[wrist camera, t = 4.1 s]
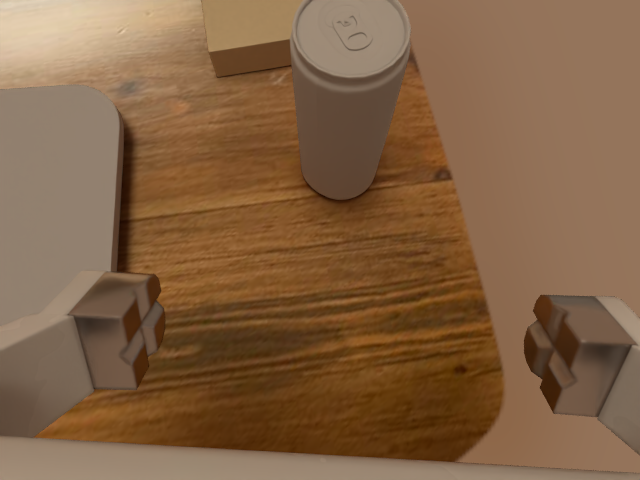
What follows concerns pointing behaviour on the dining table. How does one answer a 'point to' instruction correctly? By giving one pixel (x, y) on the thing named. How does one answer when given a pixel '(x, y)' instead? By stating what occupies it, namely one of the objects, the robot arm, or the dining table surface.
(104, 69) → the dining table surface
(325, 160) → the beverage can
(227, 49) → the closed book
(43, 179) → the grey flat rounded rectangle
